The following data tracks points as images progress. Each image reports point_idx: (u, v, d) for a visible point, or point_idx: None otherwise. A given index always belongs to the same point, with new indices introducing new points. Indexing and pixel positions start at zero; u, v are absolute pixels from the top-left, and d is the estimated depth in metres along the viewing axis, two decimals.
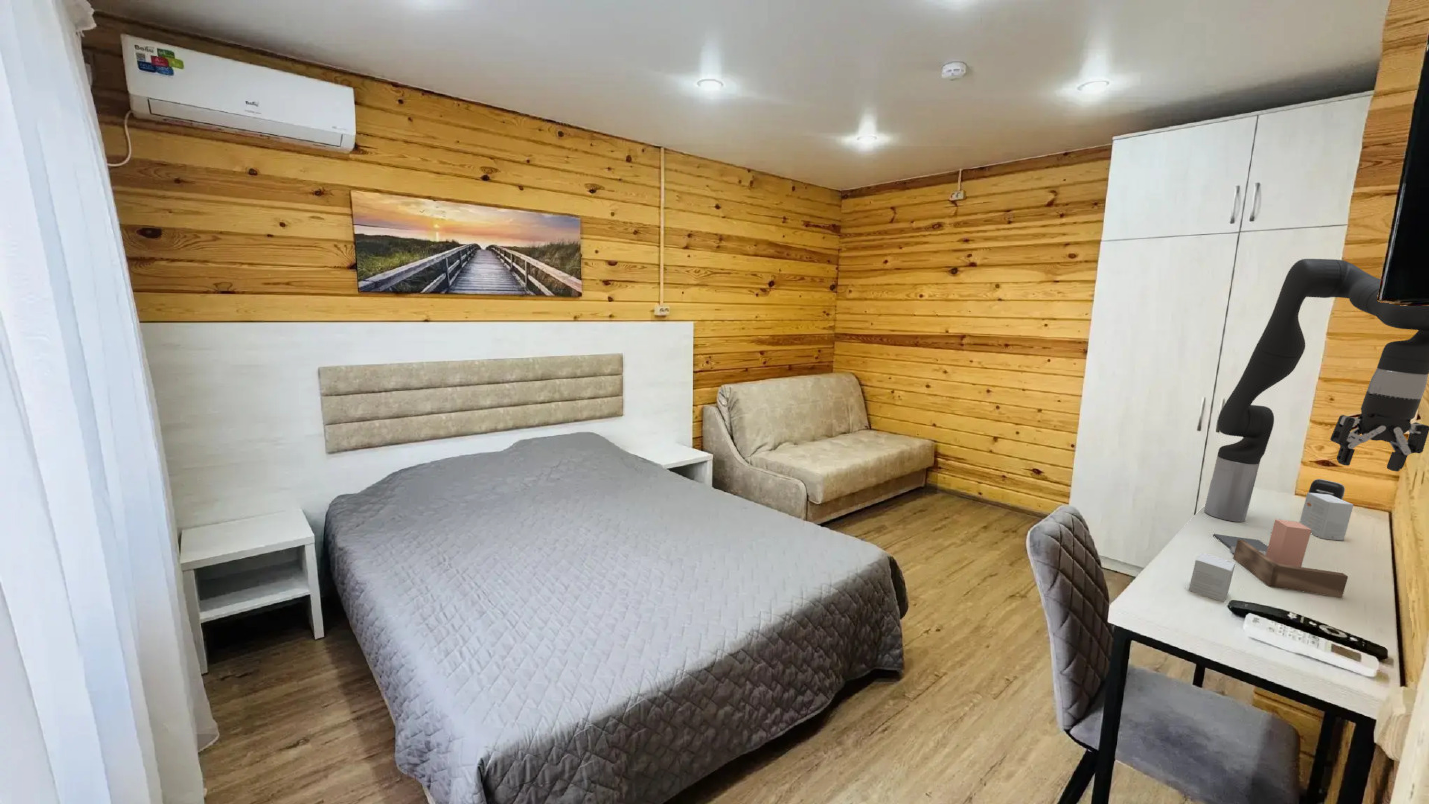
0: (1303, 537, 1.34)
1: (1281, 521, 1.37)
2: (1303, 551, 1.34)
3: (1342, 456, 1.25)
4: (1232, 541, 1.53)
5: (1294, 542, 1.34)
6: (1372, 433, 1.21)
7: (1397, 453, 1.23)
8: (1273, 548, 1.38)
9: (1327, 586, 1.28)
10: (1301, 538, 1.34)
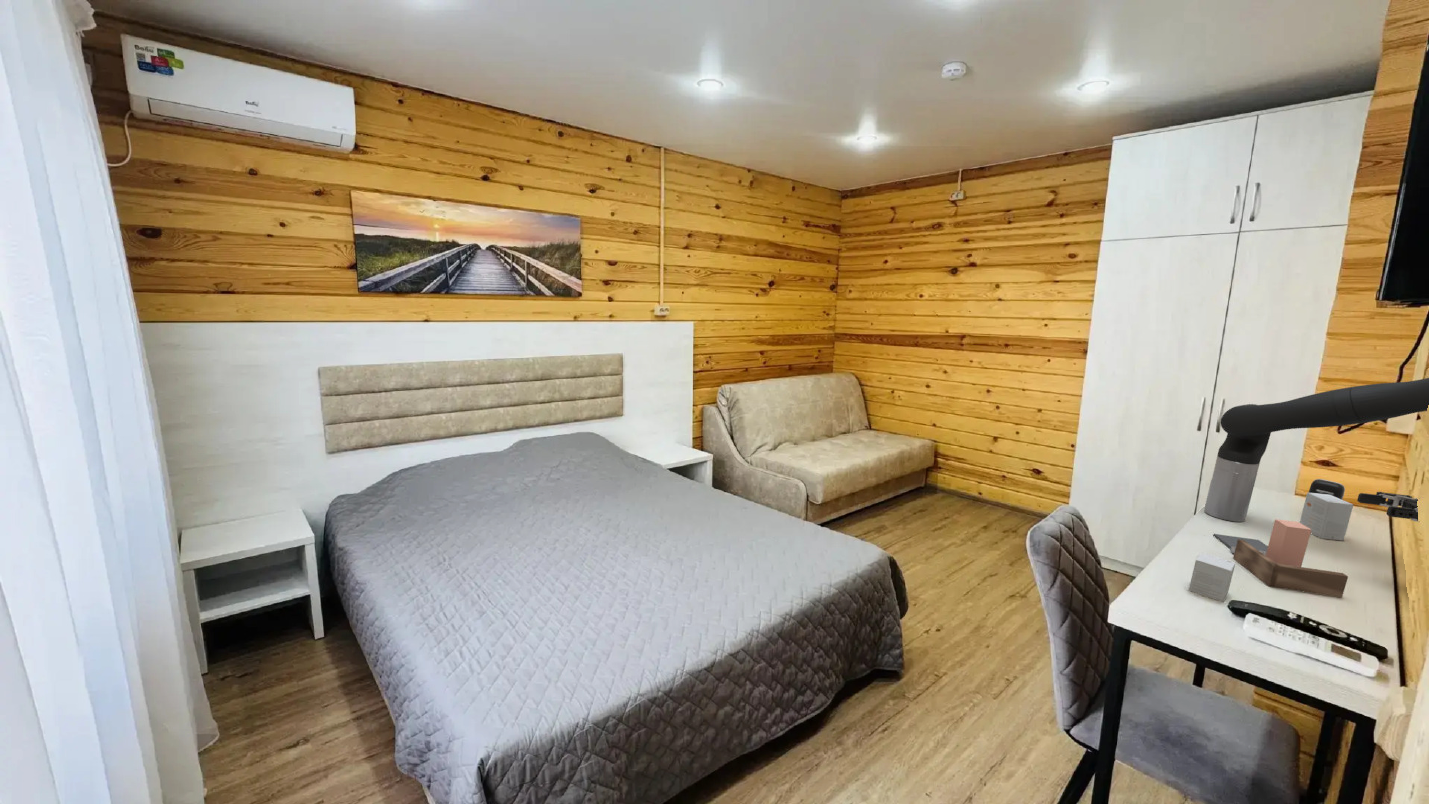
0: (1303, 537, 1.34)
1: (1281, 521, 1.37)
2: (1303, 551, 1.34)
3: (1402, 516, 1.25)
4: (1232, 541, 1.53)
5: (1294, 542, 1.34)
6: None
7: (1380, 500, 1.33)
8: (1273, 548, 1.38)
9: (1327, 586, 1.28)
10: (1301, 538, 1.34)
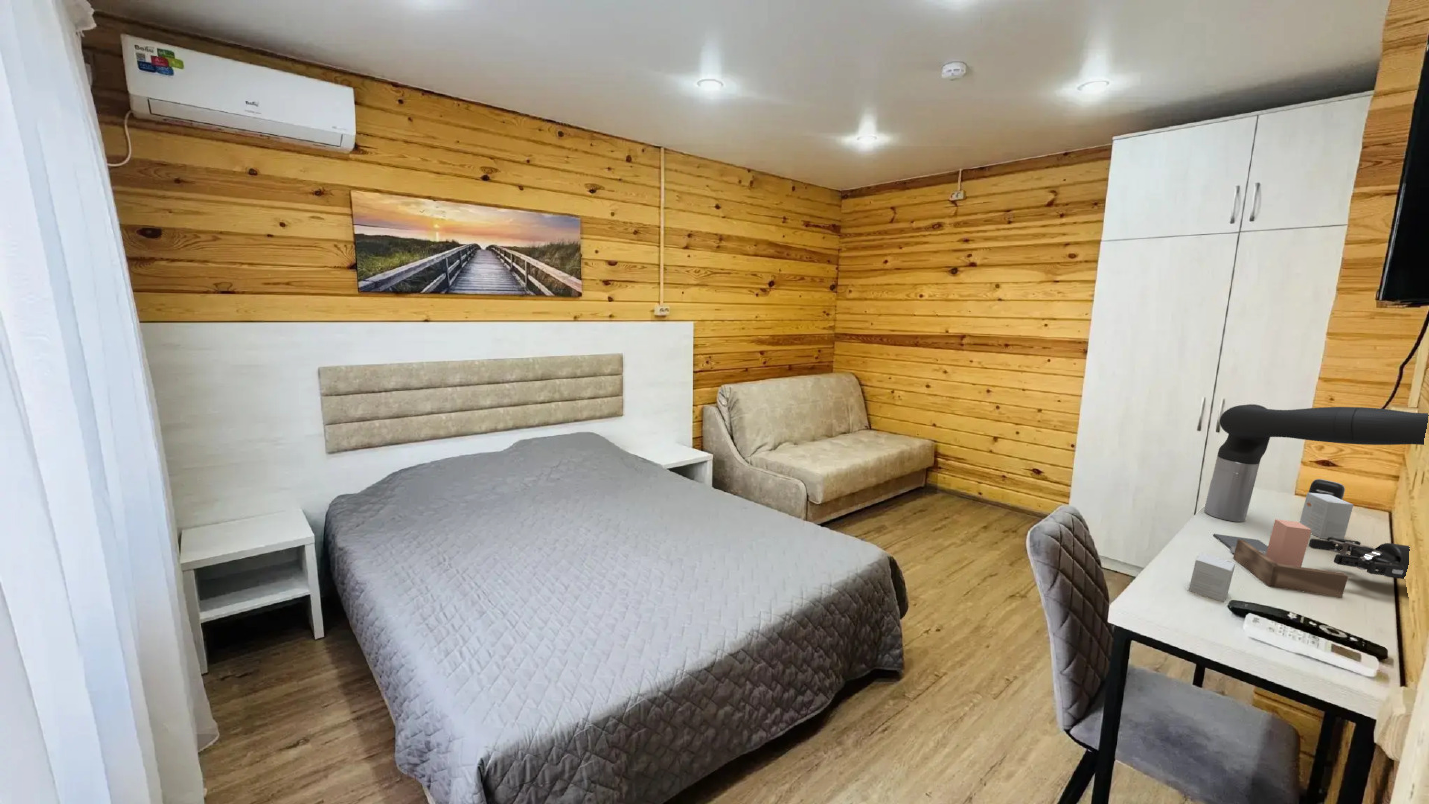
0: (1303, 537, 1.34)
1: (1281, 521, 1.37)
2: (1303, 551, 1.34)
3: (1348, 564, 1.30)
4: (1232, 541, 1.53)
5: (1294, 542, 1.34)
6: None
7: (1330, 546, 1.38)
8: (1273, 548, 1.38)
9: (1327, 586, 1.28)
10: (1301, 538, 1.34)
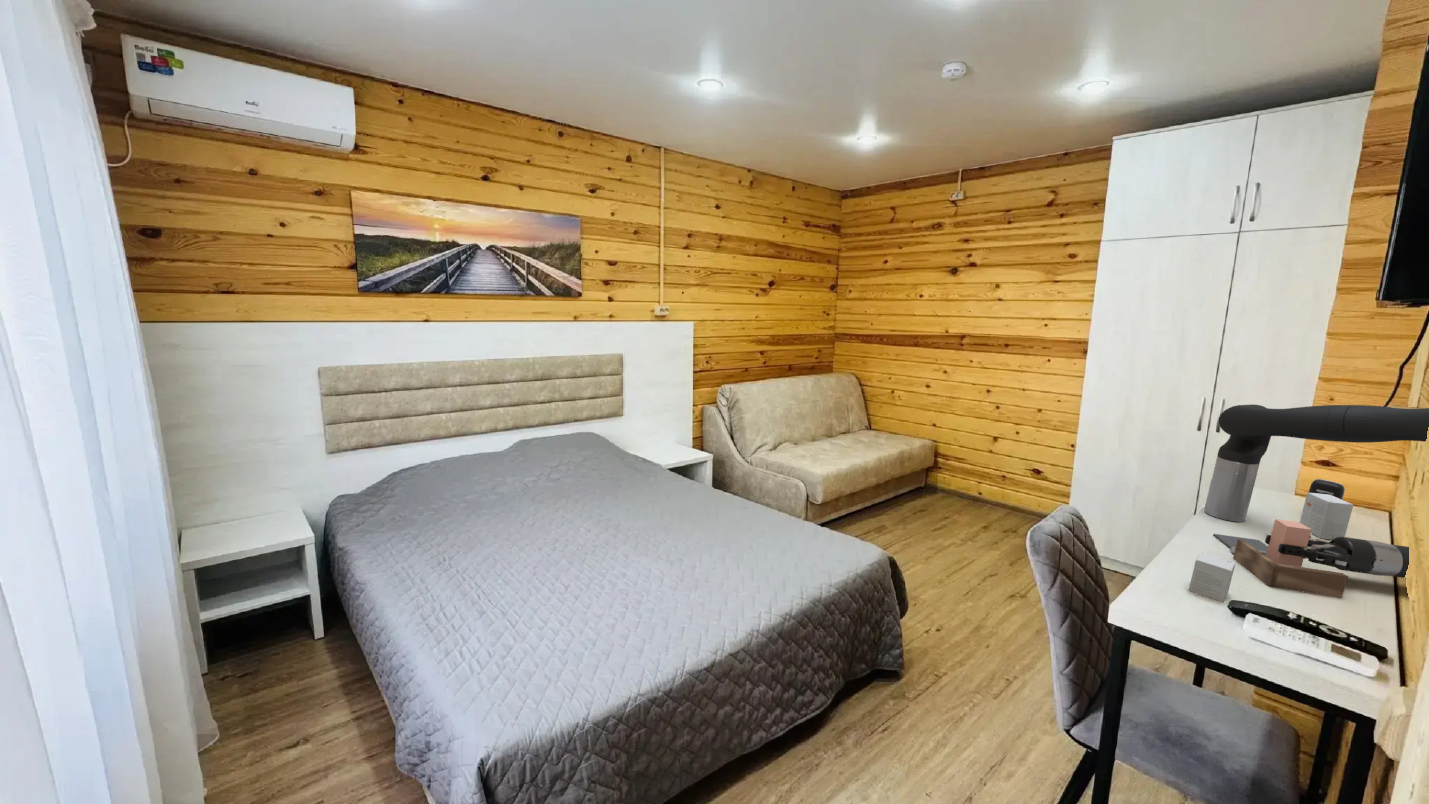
0: (1303, 537, 1.34)
1: (1281, 521, 1.37)
2: None
3: (1291, 553, 1.34)
4: (1232, 541, 1.53)
5: (1294, 542, 1.34)
6: None
7: None
8: (1273, 548, 1.38)
9: (1327, 586, 1.28)
10: (1301, 538, 1.34)
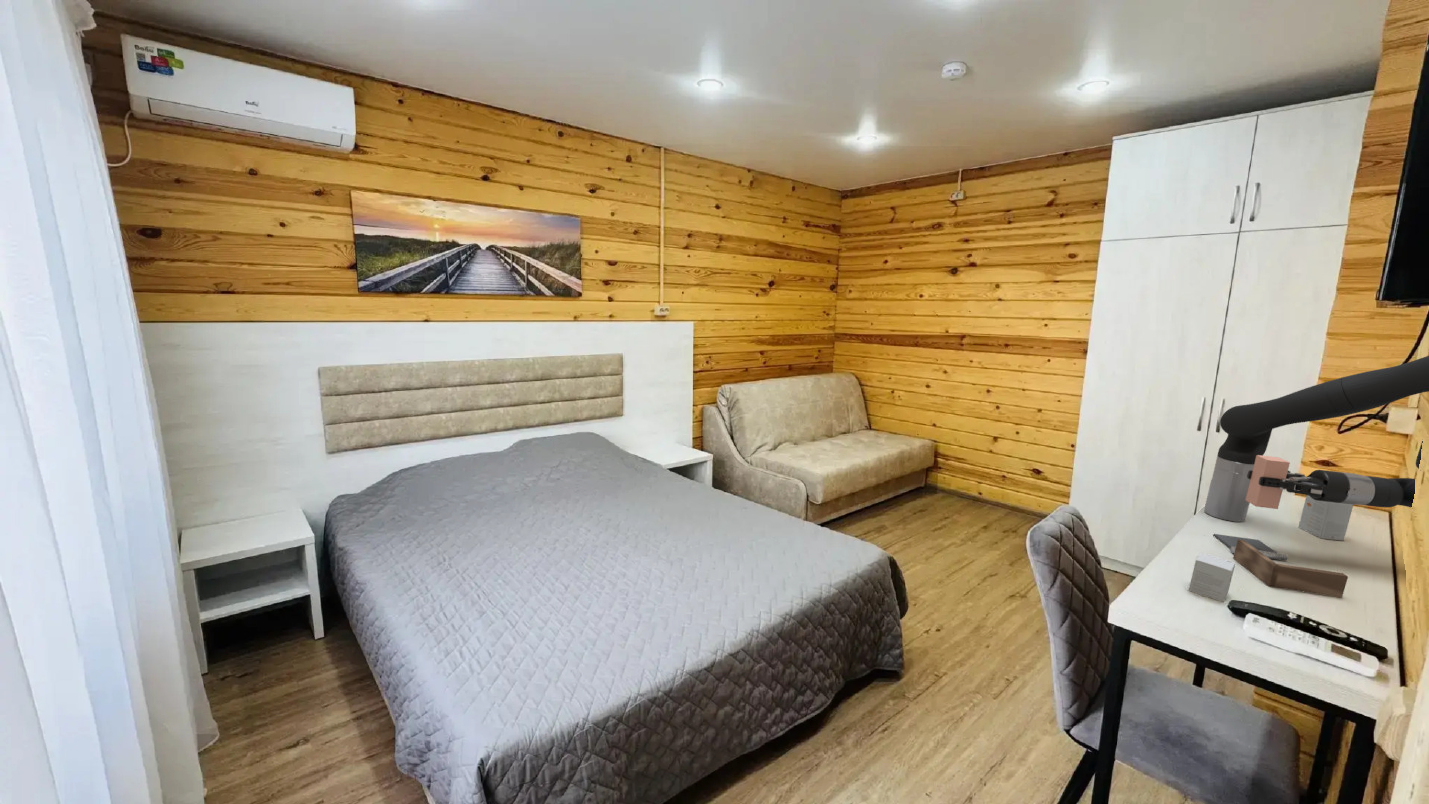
0: (1282, 470, 1.42)
1: (1262, 456, 1.46)
2: None
3: (1270, 485, 1.43)
4: (1232, 541, 1.53)
5: (1274, 475, 1.43)
6: None
7: None
8: (1254, 482, 1.47)
9: (1327, 586, 1.28)
10: (1280, 471, 1.43)
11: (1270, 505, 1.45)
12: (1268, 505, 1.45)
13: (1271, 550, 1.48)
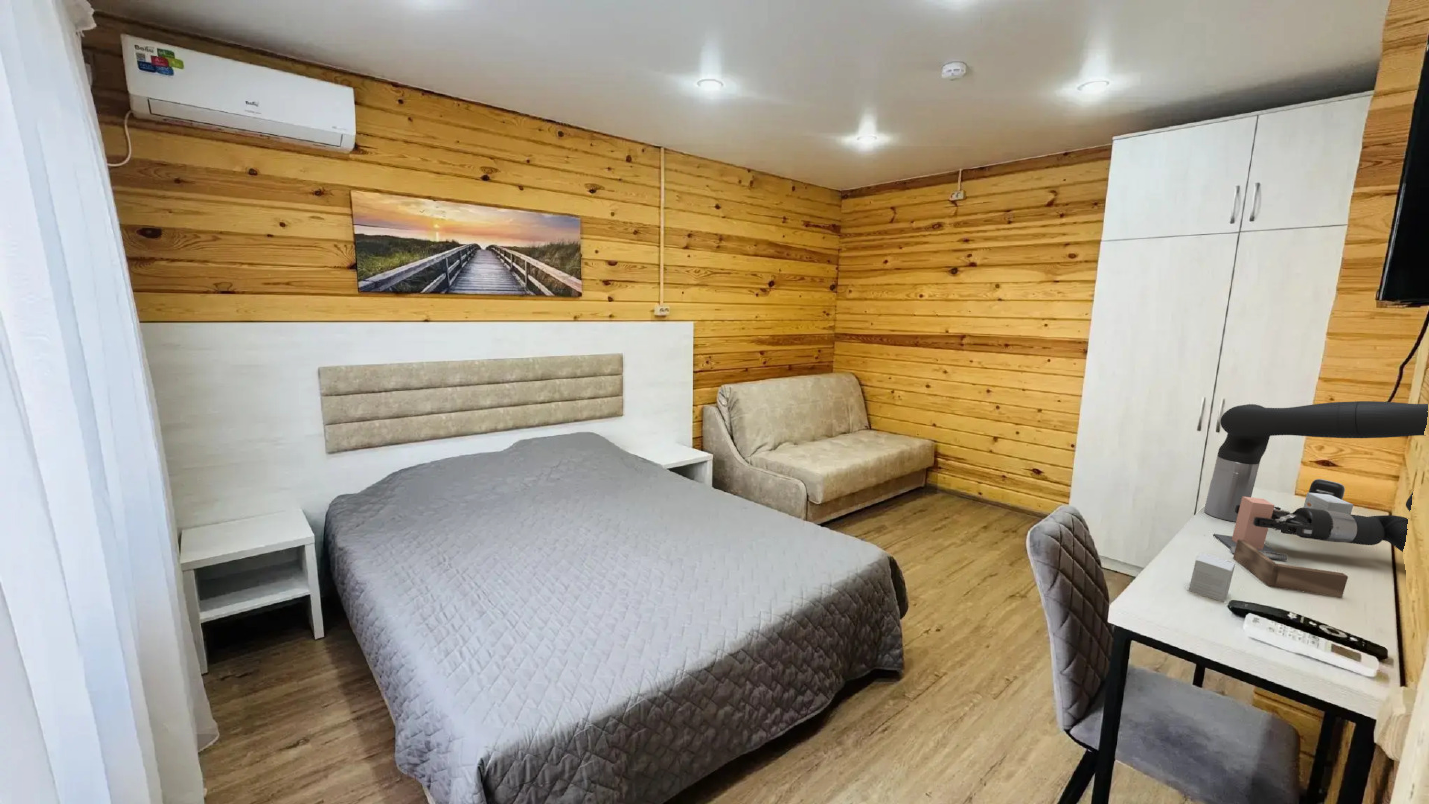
0: (1267, 512, 1.47)
1: (1247, 498, 1.50)
2: None
3: (1265, 526, 1.45)
4: (1232, 541, 1.53)
5: None
6: None
7: None
8: (1240, 523, 1.51)
9: (1327, 586, 1.28)
10: (1265, 513, 1.47)
11: (1255, 546, 1.49)
12: (1253, 546, 1.49)
13: (1271, 550, 1.48)
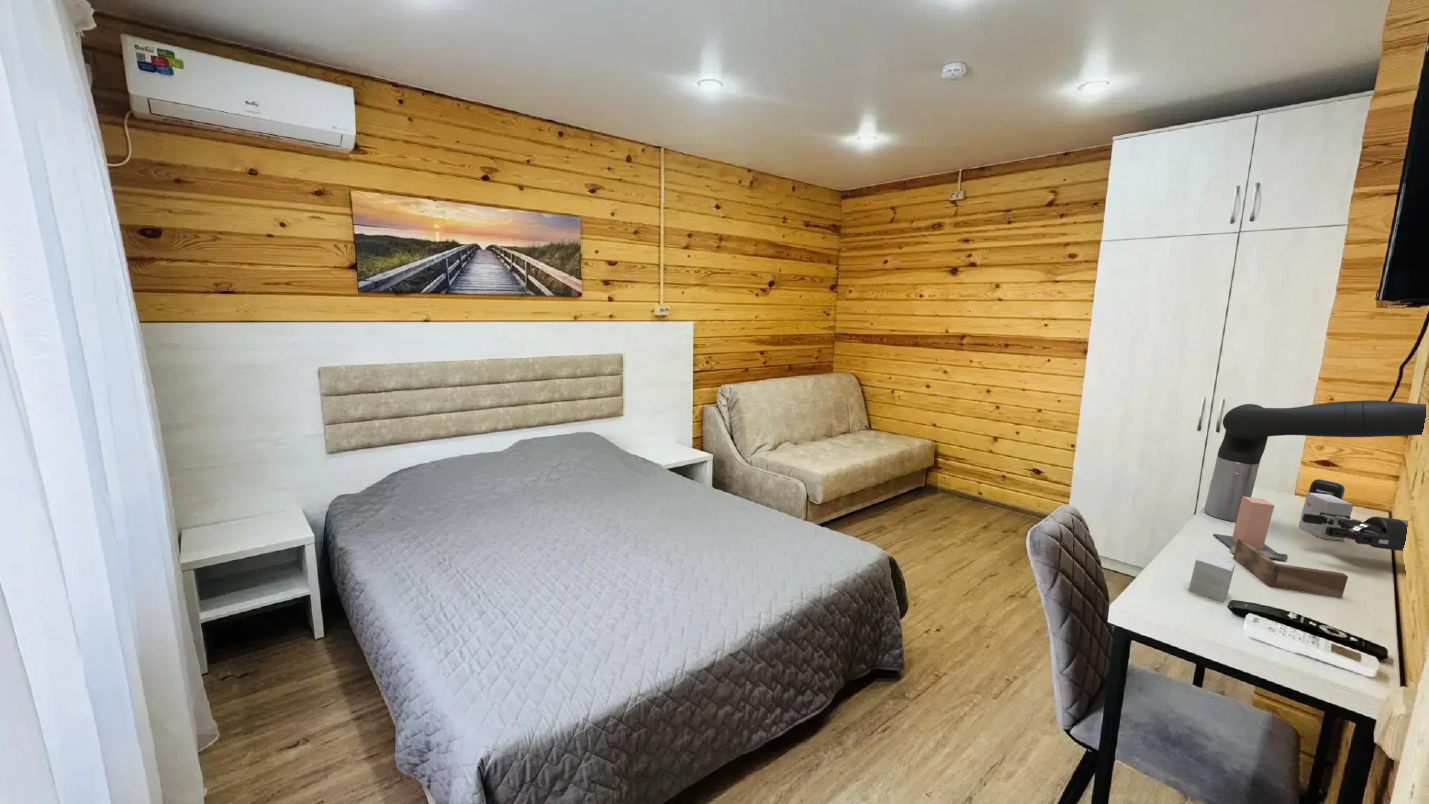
0: (1267, 512, 1.47)
1: (1247, 498, 1.50)
2: (1267, 525, 1.47)
3: (1338, 535, 1.41)
4: (1232, 541, 1.53)
5: (1259, 517, 1.47)
6: None
7: (1322, 520, 1.49)
8: (1240, 523, 1.51)
9: (1327, 586, 1.28)
10: (1265, 513, 1.47)
11: (1255, 546, 1.49)
12: (1253, 546, 1.49)
13: (1271, 550, 1.48)
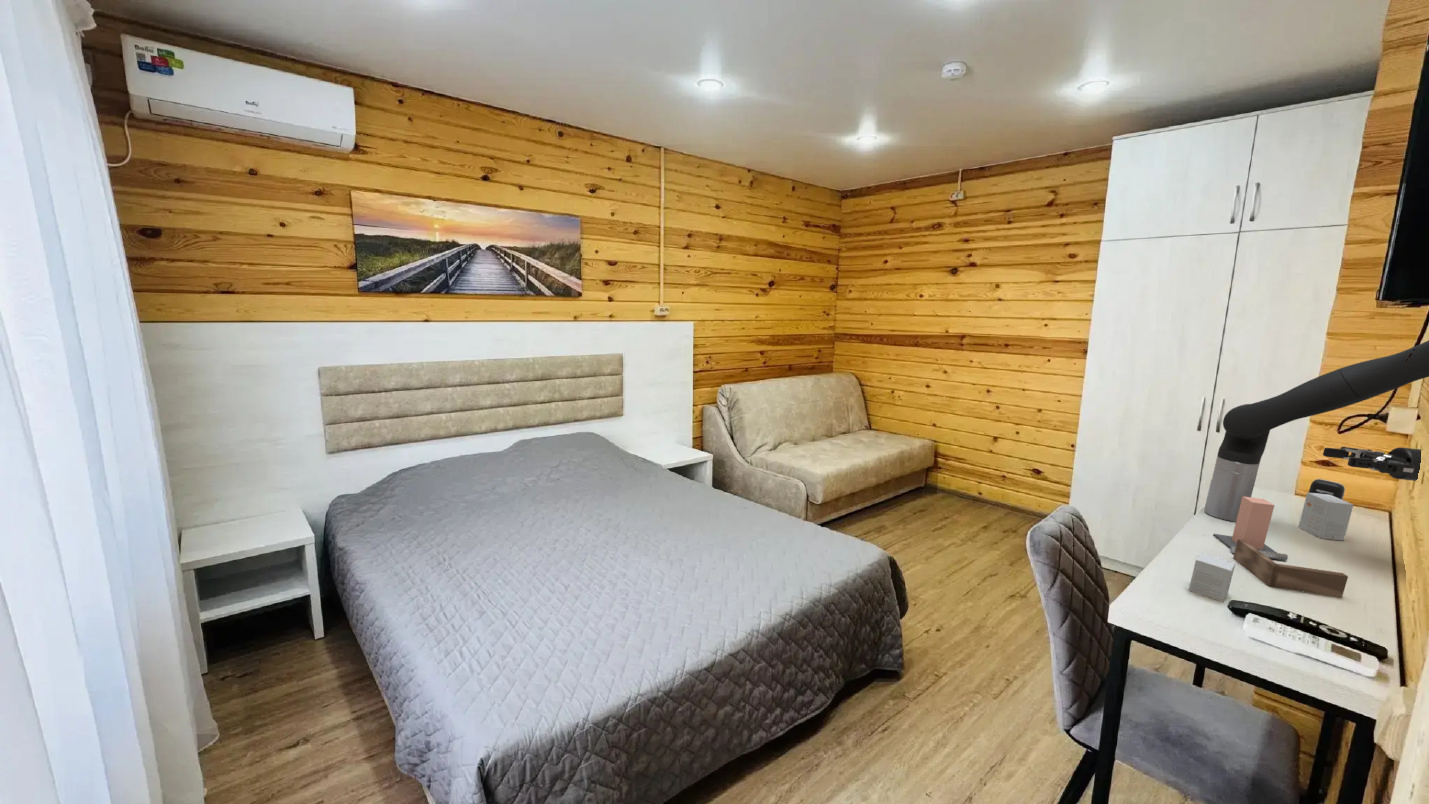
0: (1267, 512, 1.47)
1: (1247, 498, 1.50)
2: (1267, 525, 1.47)
3: (1361, 466, 1.37)
4: (1232, 541, 1.53)
5: (1259, 517, 1.47)
6: None
7: (1343, 454, 1.45)
8: (1240, 523, 1.51)
9: (1327, 586, 1.28)
10: (1265, 513, 1.47)
11: (1255, 546, 1.49)
12: (1253, 546, 1.49)
13: (1271, 550, 1.48)
